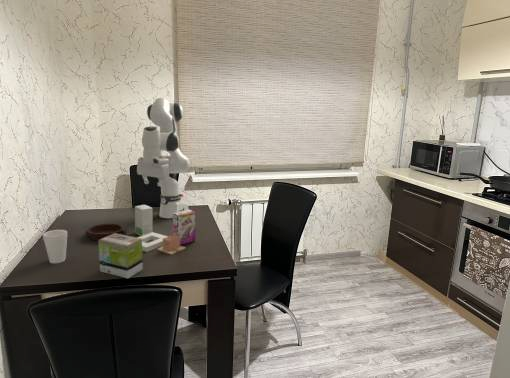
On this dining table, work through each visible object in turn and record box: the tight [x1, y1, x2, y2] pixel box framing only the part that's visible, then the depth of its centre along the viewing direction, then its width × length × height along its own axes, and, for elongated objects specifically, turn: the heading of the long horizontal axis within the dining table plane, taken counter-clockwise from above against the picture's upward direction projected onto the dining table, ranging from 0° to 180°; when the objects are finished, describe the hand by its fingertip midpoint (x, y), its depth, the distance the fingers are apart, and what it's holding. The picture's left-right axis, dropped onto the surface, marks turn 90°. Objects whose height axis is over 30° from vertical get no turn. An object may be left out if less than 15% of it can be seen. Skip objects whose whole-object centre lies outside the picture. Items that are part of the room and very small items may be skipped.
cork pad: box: [156, 245, 187, 255], centre depth 180 cm, size 10×10×1 cm
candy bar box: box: [172, 209, 197, 246], centre depth 188 cm, size 11×5×16 cm, turn 135°
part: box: [162, 234, 181, 251], centre depth 179 cm, size 7×4×6 cm, turn 149°
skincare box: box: [134, 204, 153, 237], centre depth 199 cm, size 8×7×16 cm
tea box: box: [97, 233, 144, 279], centre depth 153 cm, size 15×10×15 cm, turn 69°
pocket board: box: [137, 231, 169, 253], centre depth 186 cm, size 17×14×2 cm
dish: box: [84, 223, 127, 241], centre depth 194 cm, size 18×22×5 cm
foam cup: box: [42, 229, 68, 264], centre depth 161 cm, size 10×9×13 cm
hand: (153, 184), depth 189 cm, fingers open, 8 cm apart
